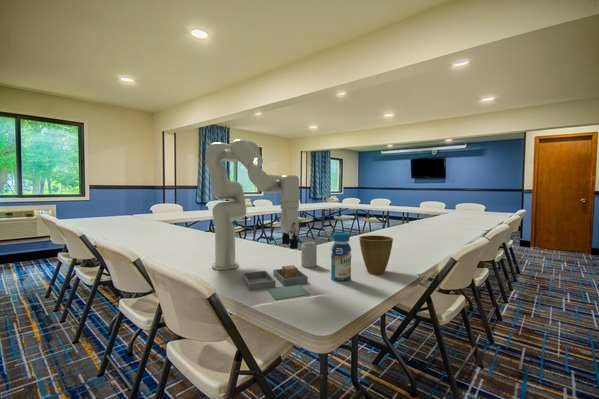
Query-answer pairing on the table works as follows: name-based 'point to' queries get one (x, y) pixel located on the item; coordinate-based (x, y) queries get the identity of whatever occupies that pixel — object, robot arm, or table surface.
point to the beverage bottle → (341, 258)
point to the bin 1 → (258, 280)
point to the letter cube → (289, 272)
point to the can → (309, 254)
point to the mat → (288, 291)
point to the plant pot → (376, 252)
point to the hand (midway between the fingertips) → (289, 246)
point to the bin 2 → (291, 281)
